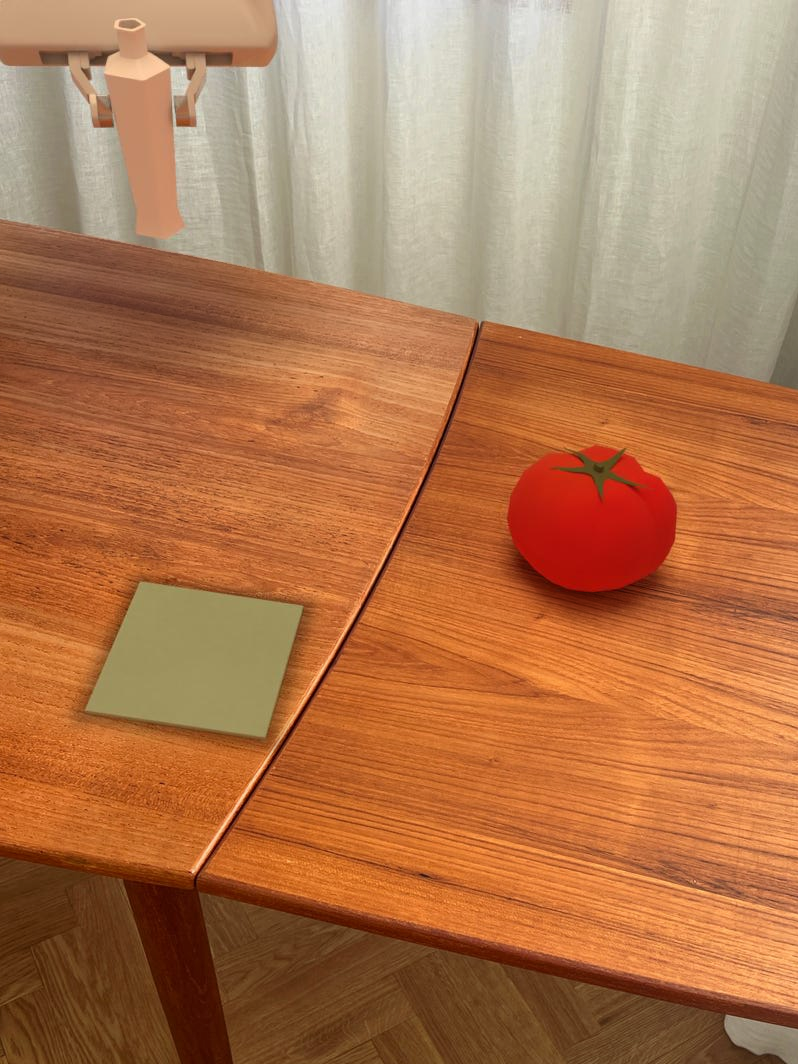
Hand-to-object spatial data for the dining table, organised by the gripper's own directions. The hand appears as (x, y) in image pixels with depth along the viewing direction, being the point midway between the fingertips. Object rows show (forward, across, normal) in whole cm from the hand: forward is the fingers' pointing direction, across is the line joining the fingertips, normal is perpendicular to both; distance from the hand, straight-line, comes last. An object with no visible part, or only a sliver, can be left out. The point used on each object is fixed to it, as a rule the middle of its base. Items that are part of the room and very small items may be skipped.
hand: (145, 124), depth 83 cm
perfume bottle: (+6, 0, +6) cm, 9 cm away
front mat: (+39, 0, -7) cm, 39 cm away
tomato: (+35, +29, -3) cm, 46 cm away
